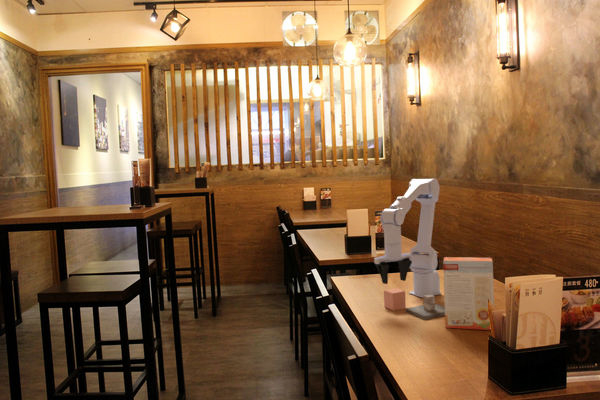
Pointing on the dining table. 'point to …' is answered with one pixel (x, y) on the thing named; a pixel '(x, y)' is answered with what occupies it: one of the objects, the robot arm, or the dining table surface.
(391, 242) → the robot arm
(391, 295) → the peach wooden cube
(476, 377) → the dining table surface
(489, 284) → the cracker box
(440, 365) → the dining table surface
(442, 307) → the post board
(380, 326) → the dining table surface
